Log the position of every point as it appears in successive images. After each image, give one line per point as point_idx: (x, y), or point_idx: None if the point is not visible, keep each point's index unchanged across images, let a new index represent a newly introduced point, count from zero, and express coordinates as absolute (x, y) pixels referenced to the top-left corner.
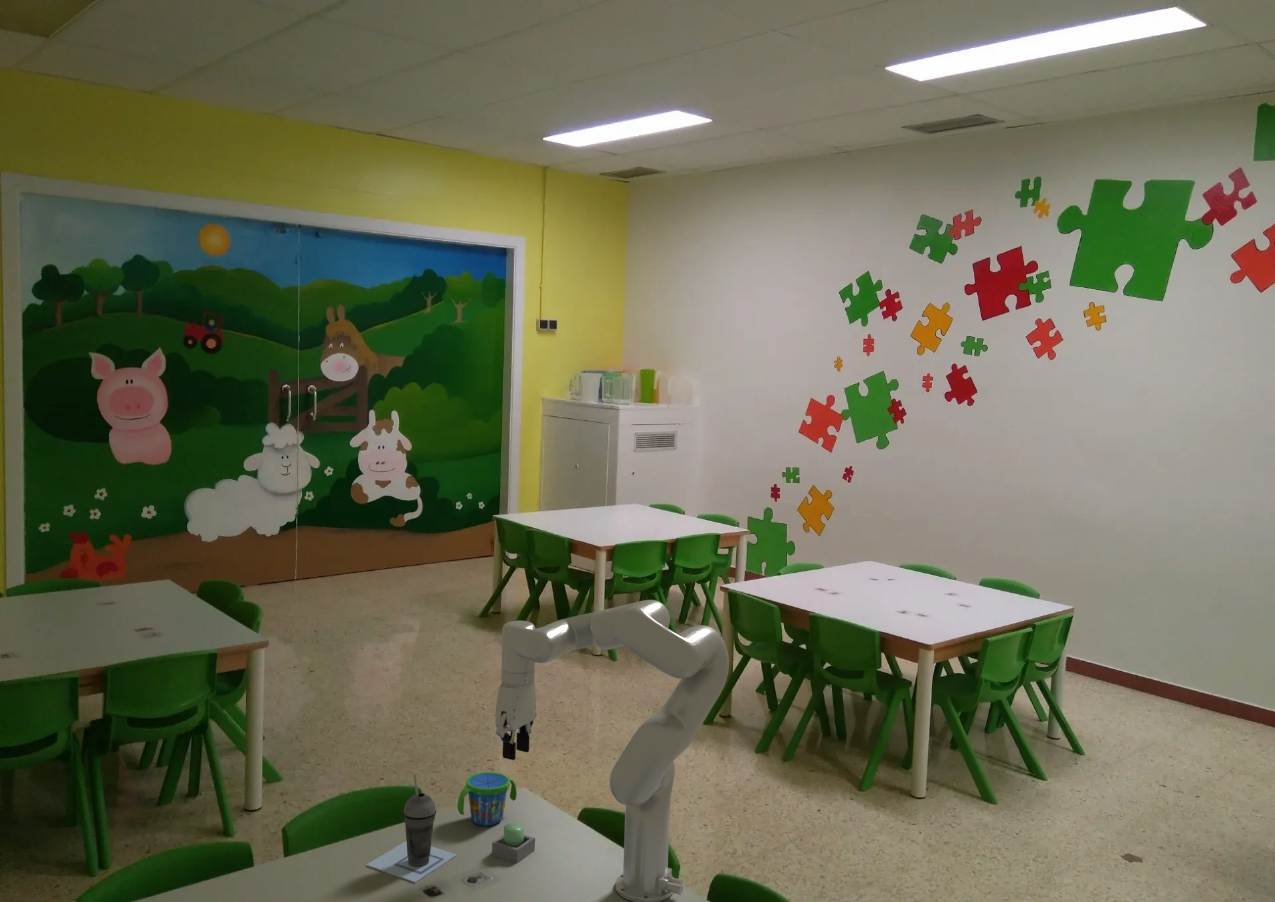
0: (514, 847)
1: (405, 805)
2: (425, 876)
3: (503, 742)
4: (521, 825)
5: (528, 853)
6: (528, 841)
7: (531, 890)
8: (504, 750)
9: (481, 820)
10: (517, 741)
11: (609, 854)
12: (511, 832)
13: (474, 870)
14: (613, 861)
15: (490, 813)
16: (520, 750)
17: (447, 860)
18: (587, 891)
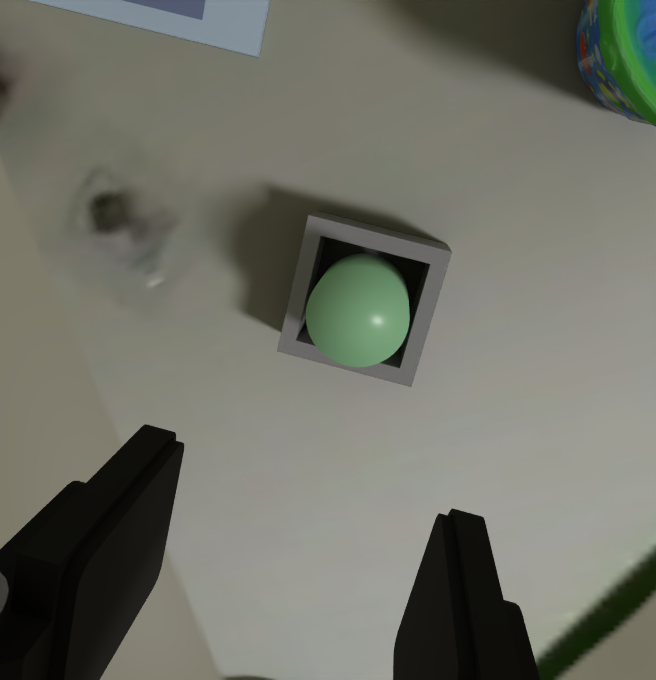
0: (297, 329)
1: None
2: (53, 6)
3: (35, 543)
4: (390, 345)
5: None
6: (369, 370)
7: None
8: (38, 521)
9: (578, 35)
10: (443, 598)
11: None
12: (306, 322)
13: (176, 190)
14: None
15: (595, 81)
16: (419, 567)
17: (195, 39)
18: (193, 611)
